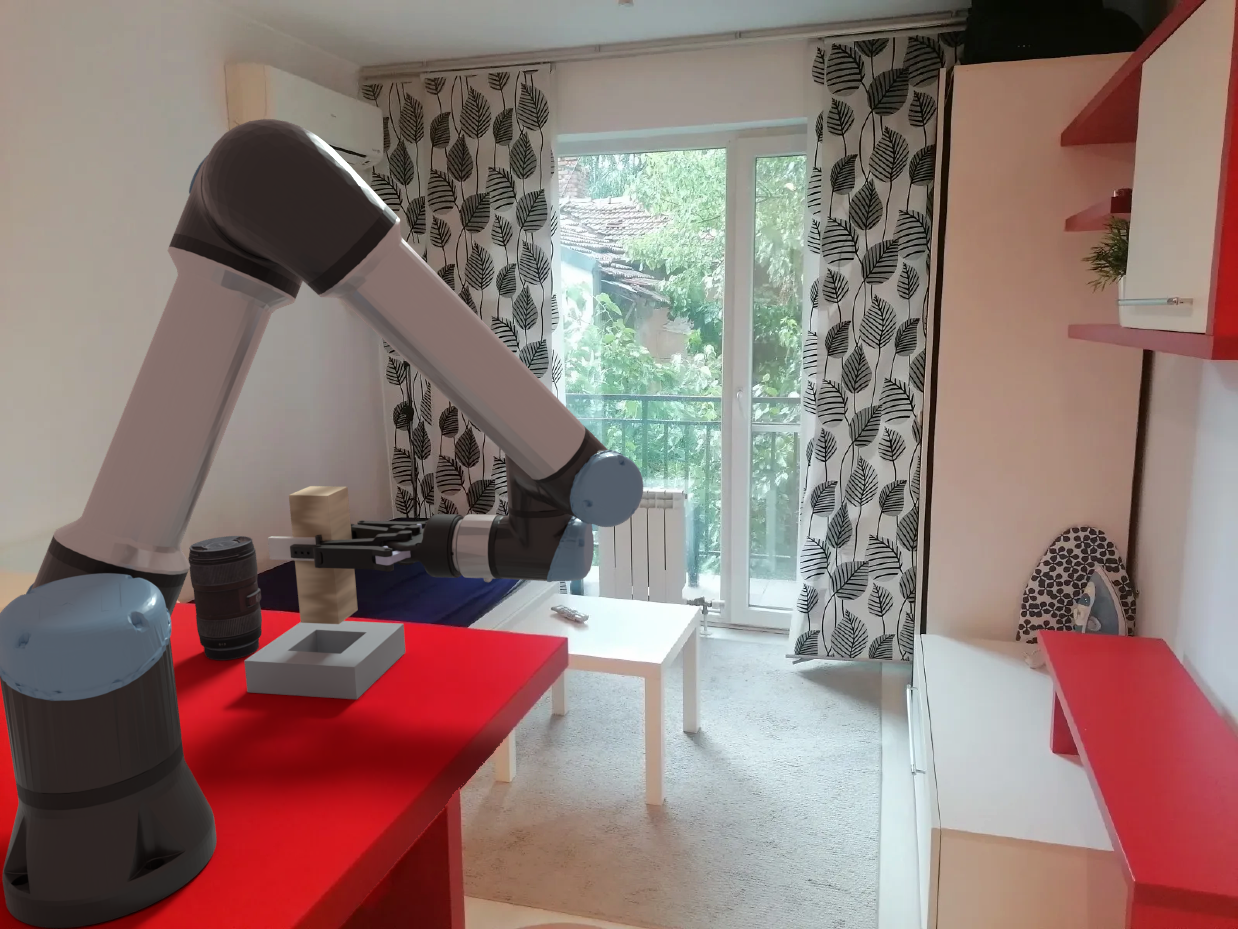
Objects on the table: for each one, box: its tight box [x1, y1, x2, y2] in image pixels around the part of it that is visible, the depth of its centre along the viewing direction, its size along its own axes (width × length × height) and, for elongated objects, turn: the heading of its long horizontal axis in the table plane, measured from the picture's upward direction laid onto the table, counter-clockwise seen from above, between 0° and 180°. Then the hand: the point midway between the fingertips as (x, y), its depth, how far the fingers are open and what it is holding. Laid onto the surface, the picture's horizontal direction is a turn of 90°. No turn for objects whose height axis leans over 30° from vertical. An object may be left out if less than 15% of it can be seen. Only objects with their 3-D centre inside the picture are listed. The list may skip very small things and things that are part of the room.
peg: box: [288, 485, 358, 624], centre depth 108 cm, size 5×5×16 cm
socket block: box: [243, 620, 406, 700], centre depth 110 cm, size 14×14×4 cm
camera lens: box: [187, 535, 263, 661], centre depth 116 cm, size 8×8×15 cm
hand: (283, 541), depth 108 cm, fingers closed on peg, 5 cm apart
